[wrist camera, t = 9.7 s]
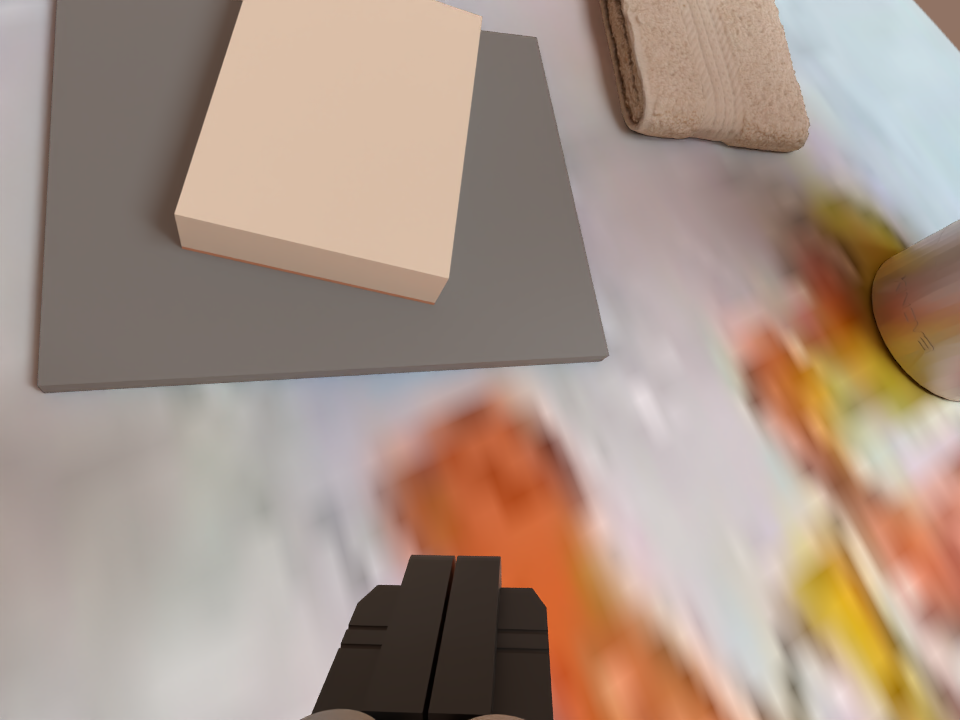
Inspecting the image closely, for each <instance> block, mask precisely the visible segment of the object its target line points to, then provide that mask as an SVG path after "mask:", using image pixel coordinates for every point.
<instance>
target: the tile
mask: <svg viewBox="0 0 960 720" xmlns="http://www.w3.org/2000/svg"><path fill="white" fill-rule="evenodd" d="M481 23H482V16H479V15H476V14H473V13H470V12H467V11H464V10H461V9H458V8H455V7H452V6H449V5H446V4H443V3H440V2H438V1H435V0H243V2H242V5H241V8H240V12H239V15H238V18H237V21H236V24H235V27H234V30H233V33H232V36H231V40H230V43H229V46H228V49H227V52H226V55H225V58H224V61H223V64H222V67H221V71H220V74H219V77H218V80H217V83H216V86H215V89H214V92H213V95H212V99H211V102H210V105H209V108H208V111H207V114H206V117H205V120H204V123H203V126H202V130H201V133H200V136H199V139H198V142H197V145H196V148H195V151H194V154H193V157H192V161H191V164H190V167H189V170H188V173H187V176H186V179H185V182H184V185H183V189H182V192H181V195H180V198H179V201H178V204H177V207H176V210H175V213H174V215H175V219H176V224H177V228H178V233H179V237H180V242H181V246H182V249H185V250H190V251H194V252H199V253H203V254H208V255H212V256H217V257H221V258H226V259H230V260H235V261H239V262H244V263H248V264H252V265H257V266H261V267H266V268H270V269H275V270H279V271H284V272H288V273H293V274H297V275H302V276H306V277H311V278H315V279H320V280H324V281H329V282H333V283H337V284H342V285H346V286H351V287H355V288H360V289H364V290H369V291H373V292H378V293H382V294H387V295H391V296H396V297H400V298H405V299H409V300H414V301H418V302H422V303H427V304H431V305H434V304H435V302H436V300H437V298H438V297H439V295H440V293H441V291H442V290H443V288H444V286H445V284H446V283H447V281H448V279H449V273H450V265H451V258H452V250H453V242H454V234H455V226H456V218H457V211H458V203H459V195H460V187H461V179H462V172H463V164H464V156H465V148H466V140H467V133H468V125H469V117H470V109H471V101H472V94H473V86H474V78H475V70H476V62H477V55H478V47H479V39H480V31H481Z"/></svg>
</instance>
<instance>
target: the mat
mask: <svg viewBox="0 0 960 720" xmlns="http://www.w3.org/2000/svg"><path fill="white" fill-rule="evenodd" d="M242 2H243V1H241V0H57V8H56V28H55V47H54V67H53V87H52V106H51V126H50V146H49V165H48V185H47V205H46V224H45V244H44V264H43V283H42V303H41V323H40V343H39V362H38V382H37V386H38V387H39V388H40V389H41V390H42V391H43V392H44V393H51V392H69V391H86V390H104V389H121V388H139V387H157V386H174V385H192V384H210V383H227V382H245V381H263V380H280V379H298V378H316V377H333V376H351V375H368V374H386V373H404V372H421V371H439V370H457V369H474V368H492V367H510V366H527V365H545V364H563V363H580V362H598V361H602V360H603V359H605V358H606V357H608V356H609V353H608V348H607V344H606V339H605V335H604V331H603V326H602V322H601V318H600V313H599V309H598V304H597V300H596V296H595V291H594V287H593V282H592V278H591V274H590V269H589V265H588V261H587V256H586V252H585V247H584V243H583V239H582V234H581V230H580V226H579V221H578V217H577V212H576V208H575V204H574V199H573V195H572V191H571V186H570V182H569V177H568V173H567V169H566V164H565V160H564V155H563V151H562V147H561V142H560V138H559V134H558V129H557V125H556V120H555V116H554V112H553V107H552V103H551V99H550V94H549V90H548V85H547V81H546V77H545V72H544V68H543V64H542V59H541V55H540V50H539V46H538V42H537V37H530V36H522V35H514V34H506V33H498V32H490V31H482V30H481V31H480V39H479V47H478V55H477V62H476V70H475V78H474V86H473V94H472V101H471V109H470V117H469V125H468V133H467V140H466V148H465V156H464V164H463V172H462V179H461V187H460V195H459V203H458V211H457V218H456V226H455V234H454V242H453V250H452V258H451V265H450V273H449V279H448V281H447V283H446V284H445V286H444V288H443V290H442V291H441V293H440V295H439V297H438V298H437V300H436V302H435V304H434V305H431V304H427V303H422V302H418V301H414V300H409V299H405V298H400V297H396V296H391V295H387V294H382V293H378V292H373V291H369V290H364V289H360V288H355V287H351V286H346V285H342V284H337V283H333V282H329V281H324V280H320V279H315V278H311V277H306V276H302V275H297V274H293V273H288V272H284V271H279V270H275V269H270V268H266V267H261V266H257V265H252V264H248V263H244V262H239V261H235V260H230V259H226V258H221V257H217V256H212V255H208V254H203V253H199V252H194V251H190V250H185V249H182V246H181V242H180V237H179V233H178V228H177V224H176V219H175V215H174V213H175V210H176V207H177V204H178V201H179V198H180V195H181V192H182V189H183V185H184V182H185V179H186V176H187V173H188V170H189V167H190V164H191V161H192V157H193V154H194V151H195V148H196V145H197V142H198V139H199V136H200V133H201V130H202V126H203V123H204V120H205V117H206V114H207V111H208V108H209V105H210V102H211V99H212V95H213V92H214V89H215V86H216V83H217V80H218V77H219V74H220V71H221V67H222V64H223V61H224V58H225V55H226V52H227V49H228V46H229V43H230V40H231V36H232V33H233V30H234V27H235V24H236V21H237V18H238V15H239V12H240V8H241V5H242Z"/></svg>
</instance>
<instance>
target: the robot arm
mask: <svg viewBox="0 0 960 720" xmlns="http://www.w3.org/2000/svg"><path fill="white" fill-rule="evenodd" d="M872 303H873V312H874V315H875V319H876V323H877V326H878V329H879V331H880V333H881V335H882V338H883V340H884V342H885V344H886V346H887V347H888V349H889V350H890V352H891V354H892V355H893V357H894V358H895V360H896V361H897V362H898V363H899V364H900V366H901V367H902V368H903V369H904V370H905V371H906V373H907V374H908V375H910V376H911V377H912V378H913V379H914V380H915V381H916V382H918V383H919V384H920V385H921V386H923V387H924V388H926V389H927V390H929V391H931V392H932V393H934V394H936V395H938V396H941V397H943V398H946V399H948V400H954V401H960V220H958V221H956V222H954V223H952V224H950V225H948V226H946V227H945V228H943V229H941V230H939V231H937V232H936V233H934V234H932V235H930V236H928V237H927V238H925V239H923V240H921V241H919V242H918V243H916V244H914V245H912V246H910V247H909V248H907V249H905V250H903V251H901V252H900V253H898V254H896V255H894V256H892V257H891V258H889V259H888V260H886V261H885V262H884V263H883V264H882V266H881V267H880V268H879V269H878V271H877V273H876V276H875V279H874V281H873V289H872ZM301 720H553V707H552V691H551V675H550V658H549V642H548V626H547V610H546V606H545V605H544V604H543V602H542V601H541V600H540V598H539V597H538V595H537V594H536V593H535V591H534V590H533V589H532V588H501V557H500V556H458V557H457V561H456V559H455V556H440V555H411V557H410V559H409V562H408V565H407V569H406V572H405V575H404V578H403V581H402V584H401V585H377V586H376V587H375V588H374V589H373V590H372V591H371V592H370V593H368V594H367V595H366V596H365V597H364V598H363V599H362V600H361V601H360V602H358V604H357V606H356V608H355V611H354V613H353V616H352V618H351V620H350V623H349V627H348V629H347V630H346V632H345V635H344V637H343V640H342V642H341V648H339V649H338V652H337V654H336V656H335V659H334V661H333V664H332V666H331V668H330V671H329V673H328V676H327V678H326V680H325V683H324V685H323V688H322V690H321V692H320V695H319V697H318V699H317V702H316V704H315V707H314V709H313V711H312V714H311V715H309V716H307V717H305V718H303V719H301Z"/></svg>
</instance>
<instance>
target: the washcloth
mask: <svg viewBox="0 0 960 720" xmlns="http://www.w3.org/2000/svg"><path fill="white" fill-rule="evenodd" d="M774 1H775V0H599V2H600V8H601V13H602V17H603V22H604V27H605V32H606V36H607V40H608V46H609V50H610V55H611V58H612V63H613V68H614V73H615V78H616V85H617V91H618V95H619V100H620V105H621V110H622V115H623V117H624V120H625V122H626V125H627V126H628V127H629V128H630V129H631V130H634V131H636V132H638V133H641V134H644V135H651V136H656V137H661V138H664V137H668V138H675V139H684V138H687V137H693V138H700V139H708V140H710V141H721V142H724V143H725V144H726V145H728V146H737V147H746V148H749V149H753V148H756V149H761V150H766V151H767V150H769V151H770V150H772V151H782V152H789V151H790V152H791V151H794V150H799V149H800V148H801V147H803V145H804V144H805V142H806V140H807V138H808V135H809V133H808V129H809V127H810V123H809V118H808V117H807V114H806V111H805V105H804V102H803V96H802V95H801V90H800V86H799V83H798V82H797V80H796V77H795V75H794V74H795V71H794V70H793V66H792V61H791V58H790V53H789V49H788V43H787V41H786V39H785V32H784V29H783V25H781V23H780V19H779V16H778V14H779V11H778V9H777V7H776V5H775V3H774Z"/></svg>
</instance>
